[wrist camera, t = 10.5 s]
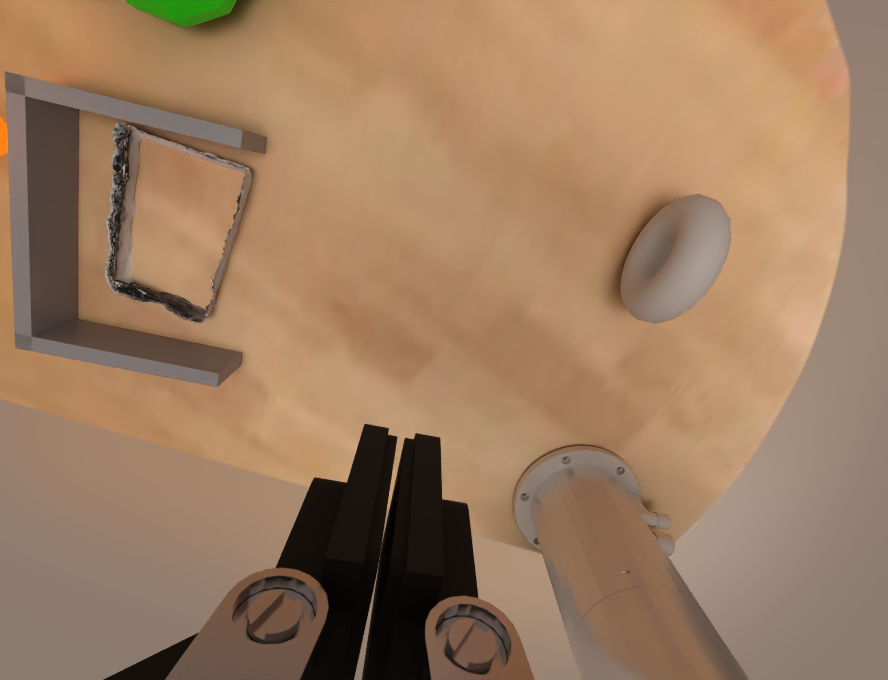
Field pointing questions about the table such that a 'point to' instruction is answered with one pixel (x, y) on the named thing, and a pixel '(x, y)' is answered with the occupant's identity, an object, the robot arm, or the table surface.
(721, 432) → the table surface
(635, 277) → the donut
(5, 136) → the orange juice
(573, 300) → the table surface
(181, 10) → the plastic bottle
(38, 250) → the tray
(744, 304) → the table surface
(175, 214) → the table surface
